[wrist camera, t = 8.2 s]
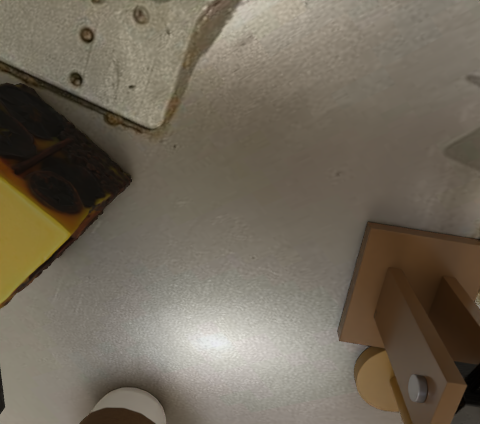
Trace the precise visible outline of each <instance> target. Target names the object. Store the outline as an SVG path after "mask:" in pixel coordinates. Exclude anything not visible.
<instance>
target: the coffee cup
mask: <svg viewBox="0 0 480 424" xmlns="http://www.w3.org/2000/svg"><path fill="white" fill-rule="evenodd" d="M80 424H166V418H165V413H164V409H163V407H162V405H161V404H160V402H159V401H158V400H157V398H155V397H154V396H152V395H151V394H150V393H148V392H147V391H144V390H141V389H138V388H131V387H122V388H119V389H116V390H113V391H111V392H109V393H108V394H106V395H105V396H104V397H103V398H102V399H101V400H100V401H99V402H98V403H97V404H96V405H95V407H94V408H93V409H92V411H91V412H90V413H89V415H88V416H87V417H85V418H84V419H83V420H82V421H81V422H80Z"/></svg>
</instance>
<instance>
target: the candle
mask: <svg viewBox="0 0 480 424" xmlns="http://www.w3.org/2000/svg"><path fill="white" fill-rule="evenodd" d="M130 182H132V179H131V176H130V175H129V174H126V173H123V171H122V169H121V168H120V167H119V166H118V165H117V164H116V163H114V162H112V161H111V160H110V158H109V157H108V155H107V154H106V153H105V152H104V151H102V150H101V149H100V148H98V147H97V146H96V145H95V144H94V143H93V142H92V141H91V140H90V139H89V138H88V137H87V136H86V135H84V134H83V133H81V132H80V131H79V130H77V129H75V126H74V125H73V124H72V123H70V122H68V121H67V120H66V119H65V118H64V117H63V116H62V115H60V114H58V113H57V112H56V111H55V110H54V109H52V108H51V107H50V106H49V105H47V104H46V103H45V102H44V101H43V100H42V99H40V97H39V96H38V95H37V93H36V92H35V91H34V89H32V88H30V87H28V86H26V85H24V84H21V83H20V84H17V85H13V84H9V83H5V84H1V85H0V309H1V308H2V307H4V306H5V305H7V304H8V303H9V302H10V300H11V299H12V298H13V296H14V295H15V294H16V293H17V292H20V291H21V290H23V289H24V288H25V287H26V286H28V285H29V284H30V283H31V282H32V281H33V280H34V279H35V278H37V277H38V276H39V275H40V274H41V273H42V271H43V270H45V269H47V268H48V266H50V265H51V263H52V262H53V261H54V260H55V259H56V258H59V257H60V256H61V255H62V253H63V252H64V251H65V250H66V249H67V248H68V247H69V246H70V245H71V244H73V242H74V241H75V240H77V239H78V237H79V236H80V235H82V234H83V233H84V232H85V230H86V229H87V228H88V227H89V226H90V225H91V224H92V223H93V222H94V221H95V220H96V219H98V215H101V214H103V209H104V208H105V207H106V206H107V205H108V204H109V203H110V202H112V201H113V199H114V198H115V197H116V196H117V195H118V194H120V193H121V192H123V191H124V190H125V188H126V187H128V186H129V185H130Z"/></svg>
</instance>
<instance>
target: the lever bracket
mask: <svg viewBox="0 0 480 424" xmlns="http://www.w3.org/2000/svg"><path fill="white" fill-rule="evenodd" d="M479 290H480V240H478V239H472V238H466V237H459V236H453V235H447V234H440V233H434V232H428V231H421V230H415V229H409V228H403V227H396V226H390V225H384V224H377V223H371V222H368V223H367V226H366V230H365V234H364V237H363V241H362V245H361V248H360V252H359V255H358V259H357V263H356V266H355V270H354V274H353V277H352V281H351V284H350V288H349V292H348V295H347V299H346V303H345V306H344V310H343V313H342V317H341V321H340V324H339V328H338V331H337V332H338V337H339V341H343V342H349V343H355V344H361V345H367V346H373V347H379V348H385V349H386V352H387V355H388V358H389V360H390V363H391V366H392V369H393V371H394V374H395V377H396V379H397V382H398V385H399V388H400V390H401V393H402V396H403V399H404V401H405V404H406V407H407V410H408V412H409V415H410V418H411V420H412V423H413V424H451V422H452V419H453V417H454V415H455V413H456V410H457V408H458V406H459V403H460V401H461V399H462V397H463V394H464V392H465V390H466V387H467V384H466V382H465V380H464V379H463V377H462V375H461V373H460V371H459V370H458V368H457V366H456V364H455V363H454V361H458V362H464V363H470V364H476V365H478V364H479V363H480V309H479V307H478V306H477V305H476V304H475V299H476V297H477V294H478V292H479Z"/></svg>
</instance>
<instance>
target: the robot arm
mask: <svg viewBox="0 0 480 424" xmlns="http://www.w3.org/2000/svg"><path fill="white" fill-rule="evenodd" d="M4 408H5V403H4V394H3V386H2V378H1V369H0V414H1V412H2V411H3V410H4Z"/></svg>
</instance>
